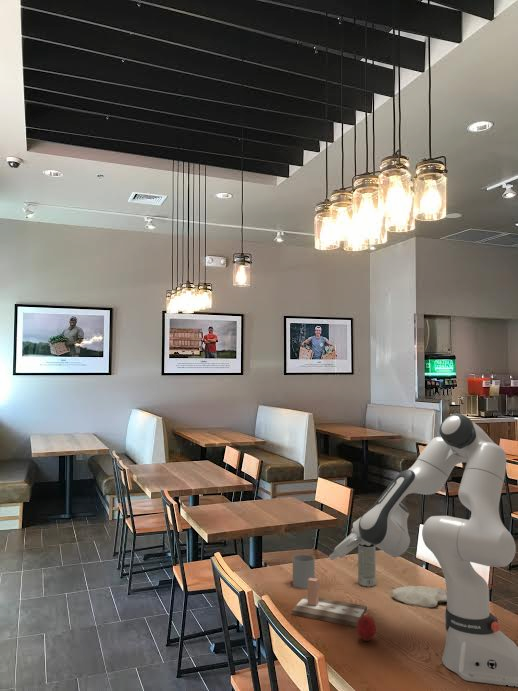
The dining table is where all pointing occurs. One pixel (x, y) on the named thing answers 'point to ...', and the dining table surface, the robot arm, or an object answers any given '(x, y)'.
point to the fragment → (420, 595)
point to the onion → (366, 627)
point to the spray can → (366, 565)
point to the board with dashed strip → (330, 611)
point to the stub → (312, 591)
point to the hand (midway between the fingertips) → (334, 553)
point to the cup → (303, 570)
